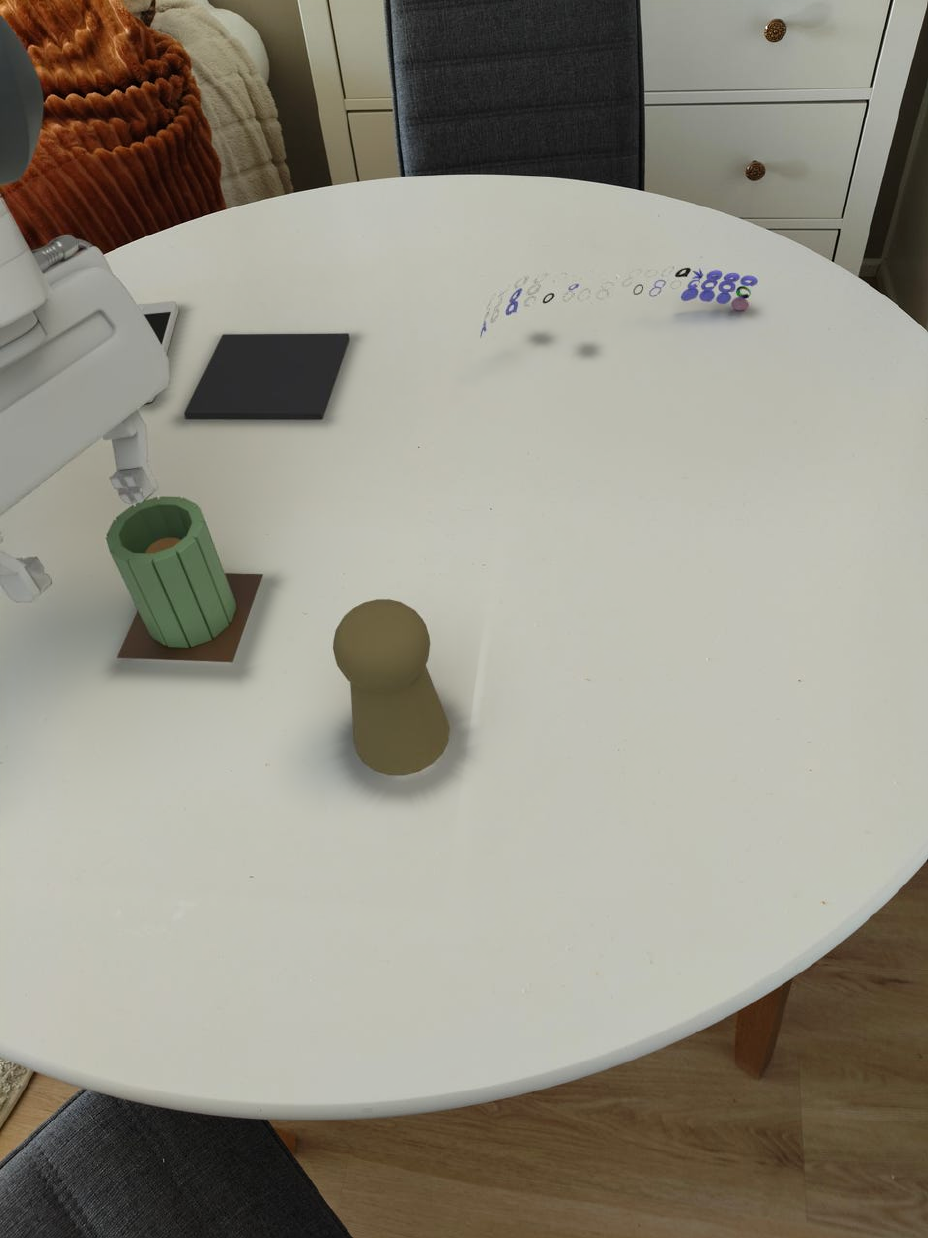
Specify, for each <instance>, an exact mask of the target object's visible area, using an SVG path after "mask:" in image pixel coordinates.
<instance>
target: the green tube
mask: <svg viewBox="0 0 928 1238" xmlns="http://www.w3.org/2000/svg"><path fill="white" fill-rule="evenodd" d="M134 504H135V505H134ZM134 504H131V506H129V507H128V508H126V509H125V510H124V511H123V512H121V513H120V514H119V515H117V516H116V517H115V519H113V521H112V523H111V525H110V526H109V529H108V531H107V533H106V537H105V540H106V545H107V548H108V550H109V553H110V555H111V558H112V559H113V561H114V563H115V566H116V568H117V570H118V572H119V574H120V576H121V578H122V580H123V583H124V584H125V586H126V589H127V591H128V593H129V595H130V597H131V599H132V601H133V603H134V605H135V607H136V609H137V611H139V613H140V615H141V617H142V619H143V622H144V624H145V626H146V628H147V630H148V632H149V634H150V636H152V638H153V639H155V640H157V641H158V642H160V643H161V644H163V645H165V646H167V645H168V647H177V648H189V646H191V647H194V646H197V645H200V644H202V643H205V642H208V641H211V640H212V638H211V637H213V638H215V637H217V636H218V635H219V634H220V633H221V632H222V631H223V630H224V629H226V628H227V627H228V626H229V623H231V621H232V619H233V616H234V613H235V610H236V602H235V599H234V597H233V594H232V591H231V589H230V586H229V583H228V581H227V578H226V575H225V573H226V572H225V570H224V568H223V565H222V562H221V559H220V557H219V554H218V551H217V548H216V546H215V542H214V541H213V538H212V535H211V532H210V530H209V527H208V524H207V522H206V519H205V516H204V513H203V511H202V508H201V507H200V506H199V504H198V503H195V502H193V501H191V500H189V499H187V498H185V497H181V496H159V497H158V496H155V497H151V498H147V499H146V500H145V501H144V502H143V503H137V502H136V503H134ZM171 537H172V538H177V539H180V540H181V541H179V542H178V543H177V544H176V545H174V546H173V547H171V548H168V549H165V550H162V551H159V552H156V553H153V554H149V553H146V550H147V549H148V547H149V546H150V545H151V544H153V543H154V542H156V541H158V540H160V539H163V538H171Z"/></svg>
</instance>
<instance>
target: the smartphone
mask: <svg viewBox="0 0 928 1238" xmlns="http://www.w3.org/2000/svg"><path fill="white" fill-rule="evenodd" d="M137 305H138V307H139V308H140V310H141V311H142V313H143V315H144V316H145V318H146V319H147V321H148V323H149V324H150V326H151V328H152V329H153V331H154V333H155V335H156V336H157V338H158V340H159V342H160V343H161V345H162V347H163V349H164V351H165V353H166V355H167V354H168V351H169V347H170V343H171V341H172V340H171V339H172V336H173V333H174V330H175V329H174V328H175V325H176V323H177V319H178V314H179V307H178V304H177V302H176V300H171V301H159V302H151V303H149V302H148V303H140V304H137ZM155 397H156V395H155V396H154V397H153V398H152V399H150V400H149V401H148V402H146V403H151V402H153V401H154V399H155ZM146 403H145V404H146Z"/></svg>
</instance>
